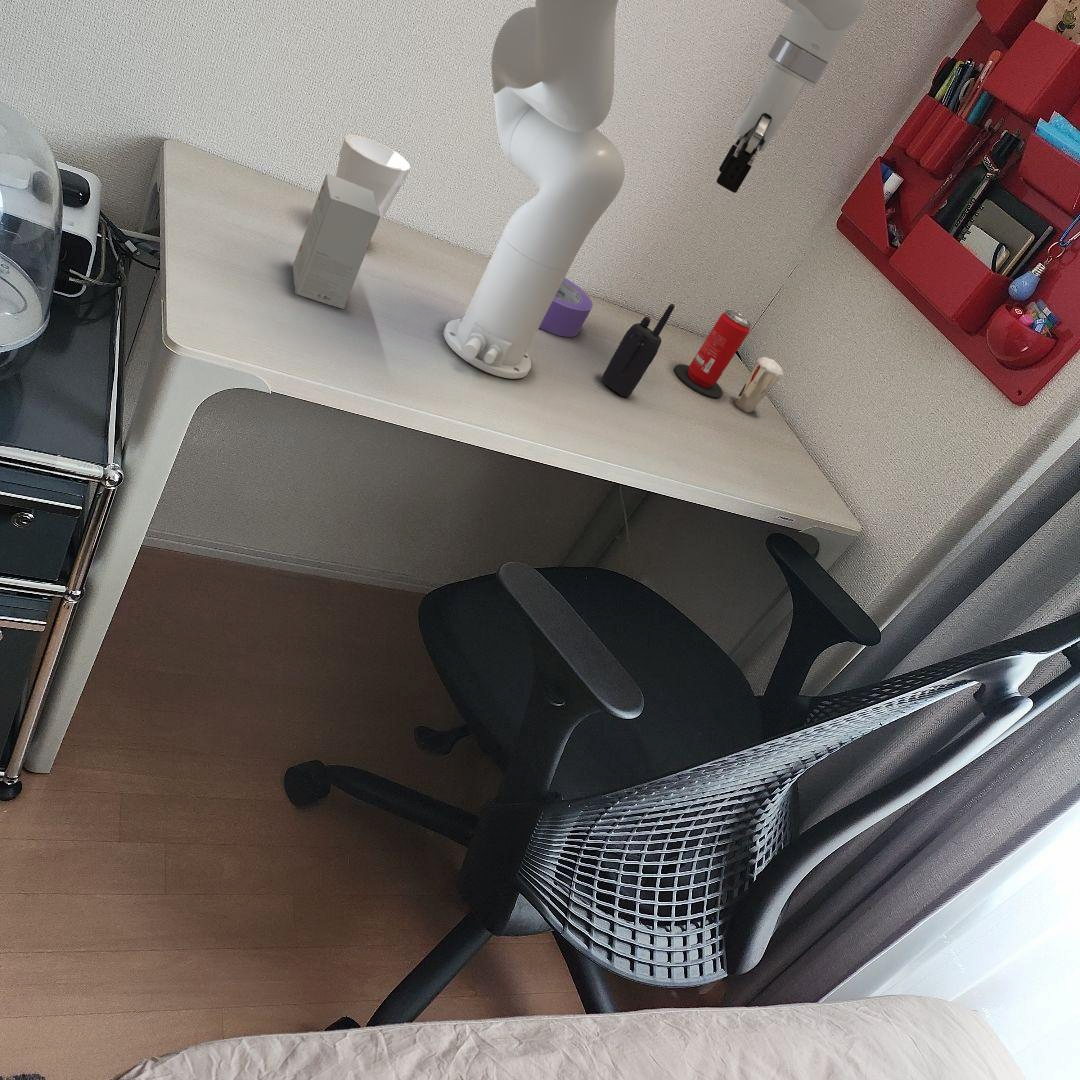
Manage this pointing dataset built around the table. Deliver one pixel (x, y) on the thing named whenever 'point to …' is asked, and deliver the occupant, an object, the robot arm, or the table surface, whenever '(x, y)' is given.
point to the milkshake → (759, 383)
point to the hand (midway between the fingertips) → (726, 181)
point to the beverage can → (718, 348)
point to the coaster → (709, 392)
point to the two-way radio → (634, 355)
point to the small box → (335, 241)
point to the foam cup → (372, 169)
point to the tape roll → (567, 310)
